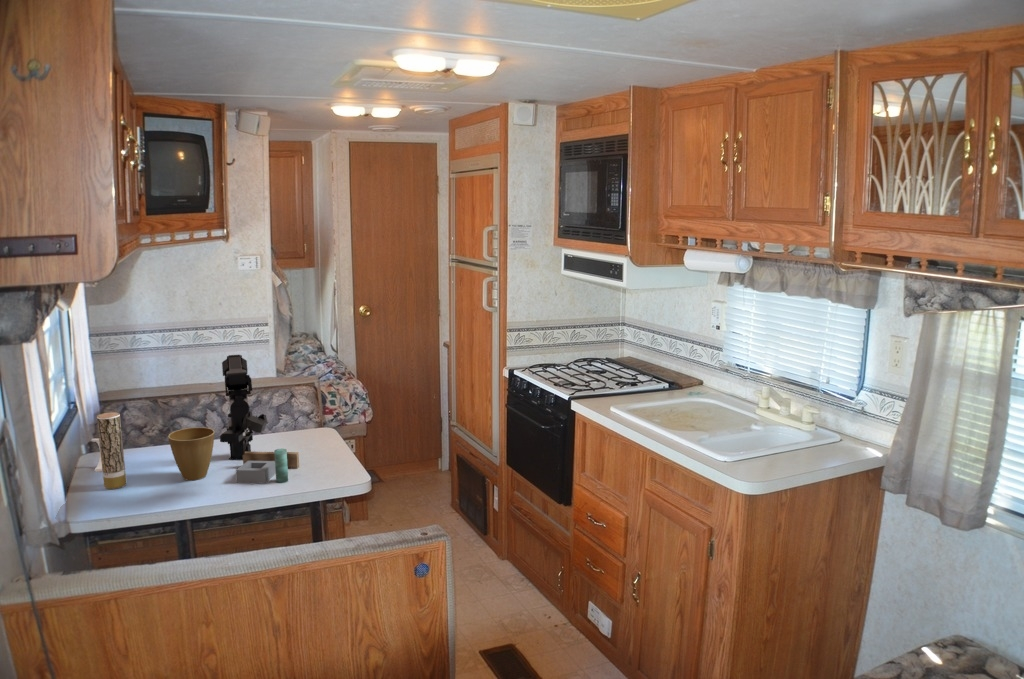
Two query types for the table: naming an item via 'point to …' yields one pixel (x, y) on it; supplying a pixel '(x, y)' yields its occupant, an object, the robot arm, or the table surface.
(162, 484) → the table surface
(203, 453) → the plant pot
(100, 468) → the headphone stand
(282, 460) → the dowel
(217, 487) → the table surface
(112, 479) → the brown bark cylinder
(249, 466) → the socket block
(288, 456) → the backstop wall
